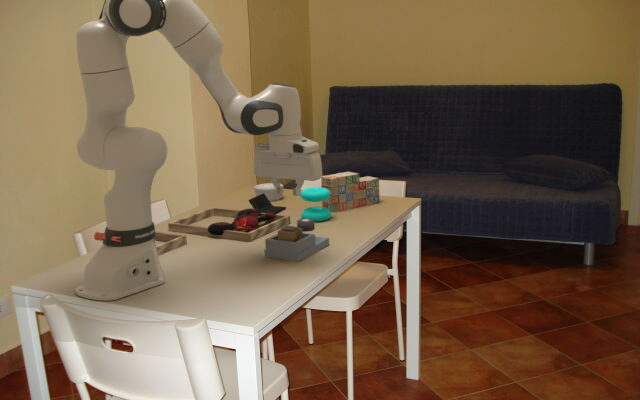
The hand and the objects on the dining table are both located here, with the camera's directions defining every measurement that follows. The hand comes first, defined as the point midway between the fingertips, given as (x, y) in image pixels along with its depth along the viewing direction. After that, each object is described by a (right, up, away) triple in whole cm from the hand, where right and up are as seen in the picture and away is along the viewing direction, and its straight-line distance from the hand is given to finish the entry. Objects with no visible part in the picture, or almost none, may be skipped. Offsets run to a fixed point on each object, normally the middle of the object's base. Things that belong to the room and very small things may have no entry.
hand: (288, 194), depth 179 cm
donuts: (+7, -8, +41) cm, 42 cm away
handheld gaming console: (-10, -6, +53) cm, 54 cm away
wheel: (+5, -10, +10) cm, 15 cm away
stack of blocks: (+20, -4, +56) cm, 60 cm away
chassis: (+2, -16, +7) cm, 17 cm away
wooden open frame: (-21, -10, +34) cm, 41 cm away
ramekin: (-11, -1, +73) cm, 74 cm away
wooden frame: (-43, -16, +16) cm, 49 cm away
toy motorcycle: (-15, -11, +31) cm, 36 cm away
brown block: (+1, -15, +3) cm, 15 cm away
